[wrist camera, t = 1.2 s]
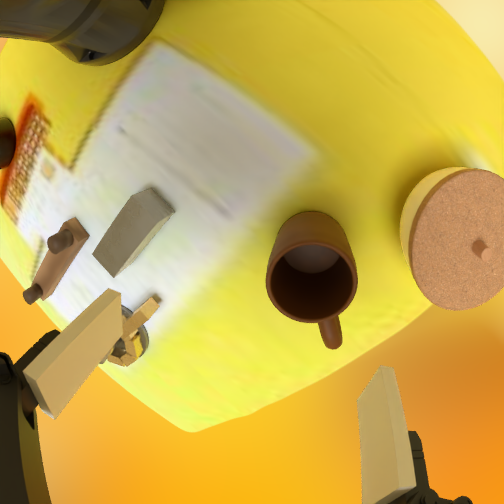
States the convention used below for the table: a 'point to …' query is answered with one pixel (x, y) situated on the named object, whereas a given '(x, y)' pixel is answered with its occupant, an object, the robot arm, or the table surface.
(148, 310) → the golden ring with handle
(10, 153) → the ink bottle
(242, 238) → the table surface
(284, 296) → the mug
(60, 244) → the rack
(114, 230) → the bar
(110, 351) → the nut station
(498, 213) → the lidded bowl
